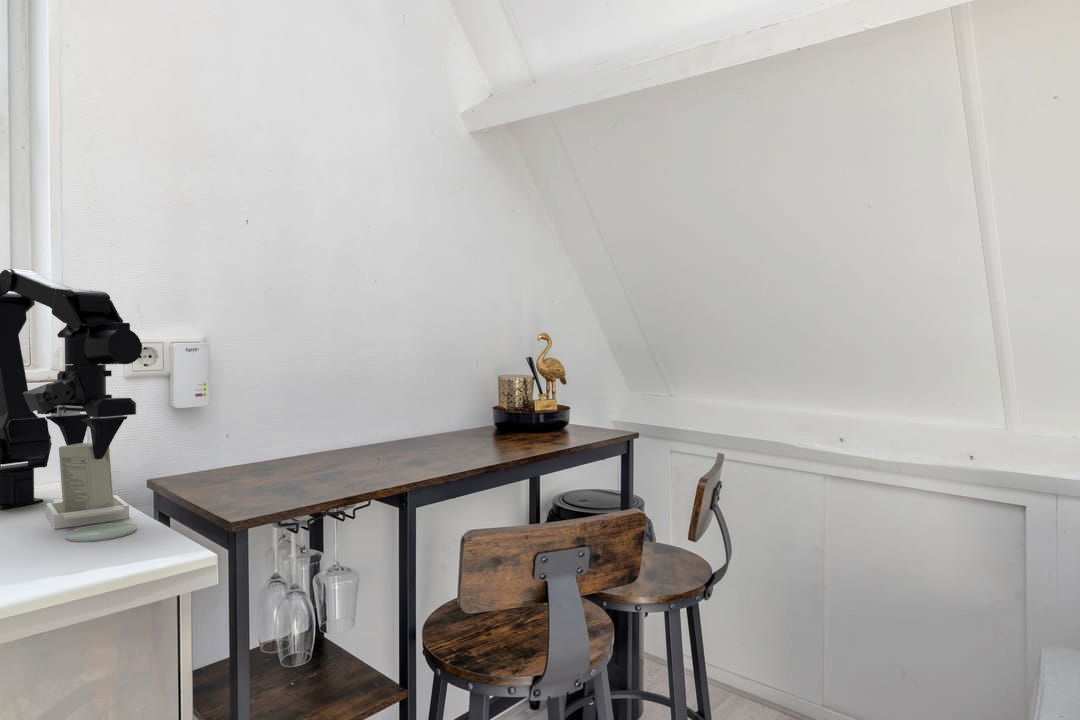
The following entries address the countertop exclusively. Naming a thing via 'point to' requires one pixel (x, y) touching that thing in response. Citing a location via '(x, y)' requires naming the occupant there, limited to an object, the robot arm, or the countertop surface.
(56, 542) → the countertop surface
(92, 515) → the white rectangular tray
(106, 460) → the skincare box
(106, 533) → the coaster
